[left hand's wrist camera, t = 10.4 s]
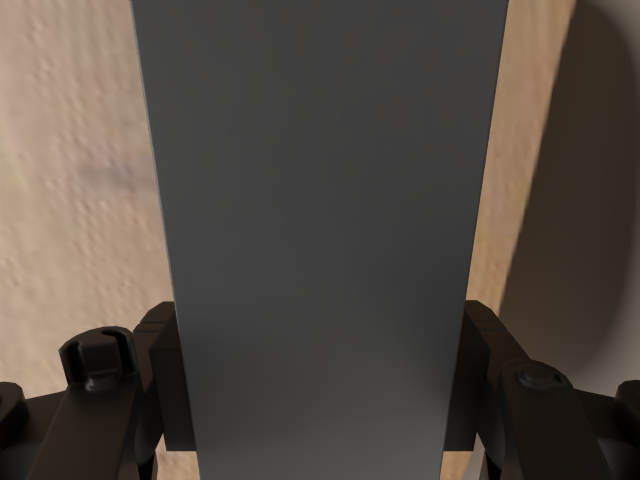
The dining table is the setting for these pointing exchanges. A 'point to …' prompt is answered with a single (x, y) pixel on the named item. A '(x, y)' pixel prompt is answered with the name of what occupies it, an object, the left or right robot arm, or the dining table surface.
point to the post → (319, 221)
